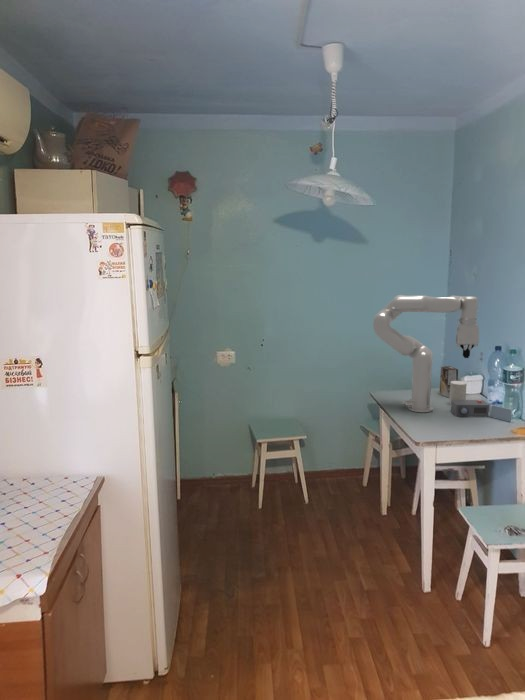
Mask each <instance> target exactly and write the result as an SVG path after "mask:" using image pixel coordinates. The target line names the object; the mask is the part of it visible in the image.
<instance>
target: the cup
mask: <svg viewBox="0 0 525 700" xmlns="http://www.w3.org/2000/svg"><path fill="white" fill-rule="evenodd" d="M466 397H467V382H466V381H462V380H458V381H451V383H450V397H449V405H450V406H451V400H467V399H466Z"/></svg>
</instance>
